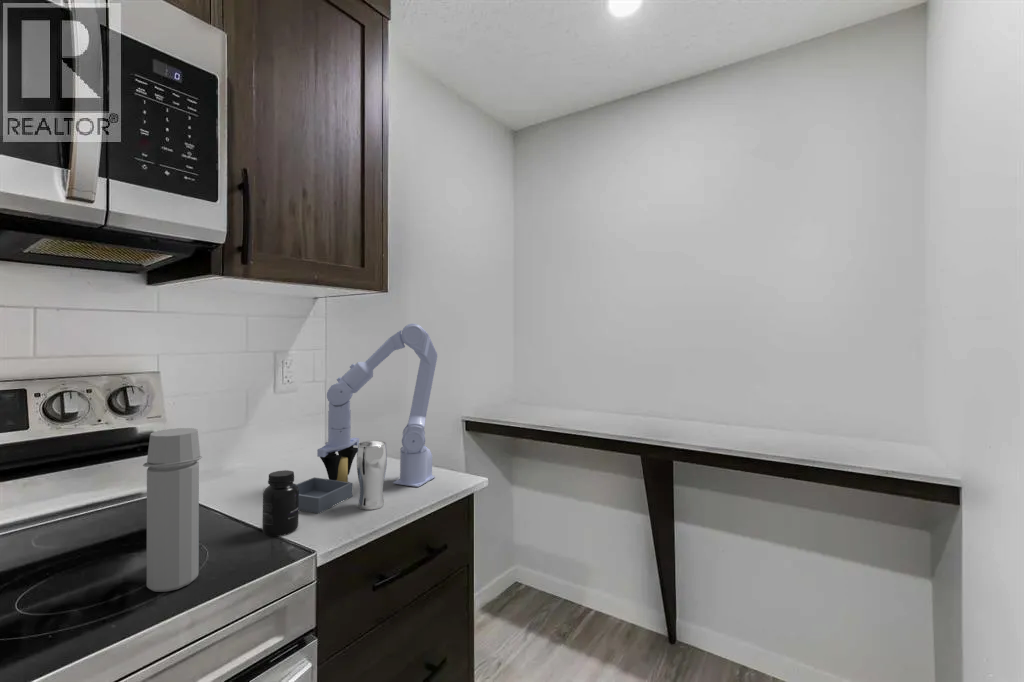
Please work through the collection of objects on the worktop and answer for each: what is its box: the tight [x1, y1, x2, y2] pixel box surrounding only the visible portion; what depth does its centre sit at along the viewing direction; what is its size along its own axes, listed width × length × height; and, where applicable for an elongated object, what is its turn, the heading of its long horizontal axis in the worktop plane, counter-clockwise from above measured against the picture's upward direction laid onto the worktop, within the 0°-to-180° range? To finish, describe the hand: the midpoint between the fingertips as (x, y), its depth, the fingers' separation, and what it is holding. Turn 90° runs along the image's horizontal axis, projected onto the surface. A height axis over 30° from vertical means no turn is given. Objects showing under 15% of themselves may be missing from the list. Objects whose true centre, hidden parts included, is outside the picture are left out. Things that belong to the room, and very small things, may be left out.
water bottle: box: [142, 427, 203, 593], centre depth 79 cm, size 9×8×25 cm
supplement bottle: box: [261, 469, 300, 537], centre depth 99 cm, size 7×7×12 cm
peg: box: [336, 456, 349, 482], centre depth 129 cm, size 4×4×7 cm
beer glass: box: [356, 439, 388, 511], centre depth 114 cm, size 7×7×15 cm
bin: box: [295, 477, 353, 514], centre depth 116 cm, size 12×12×4 cm
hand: (339, 477), depth 129 cm, fingers closed on peg, 4 cm apart
